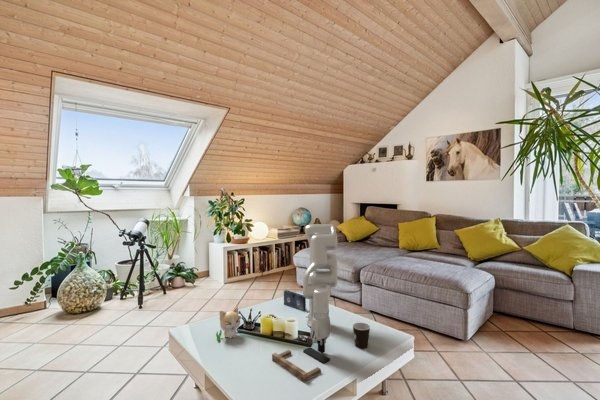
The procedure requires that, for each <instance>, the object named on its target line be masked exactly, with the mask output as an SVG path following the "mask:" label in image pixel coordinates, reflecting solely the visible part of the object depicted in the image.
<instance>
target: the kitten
mask: <svg viewBox="0 0 600 400" xmlns="http://www.w3.org/2000/svg"><path fill="white" fill-rule="evenodd" d="M219 325H220V326H219V327H220V330H219V331H218V330H217V331H216V334H215V337H216V340H217V341H221V337H222V331H223V335H224V337H226V338H229V339H231V340H232V338H233V339H234V338H235V337H236V335H237V328H239V327H240V325H241V318H240V315H239V307H238V306H235V308H234V309H233V310H229V311H223V310H219ZM218 332H219V333H218Z"/></svg>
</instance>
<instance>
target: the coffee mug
mask: <svg viewBox="0 0 600 400" xmlns="http://www.w3.org/2000/svg"><path fill="white" fill-rule="evenodd" d="M352 330H353V331H352V332H353V338H354V339H353V340H354V347H356V348H357V349H362V350H364V349H367V348H368V346H369V339H370V331H371V326H370V325H369V324H368V323H365V322H356V323H354V324H352Z"/></svg>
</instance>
